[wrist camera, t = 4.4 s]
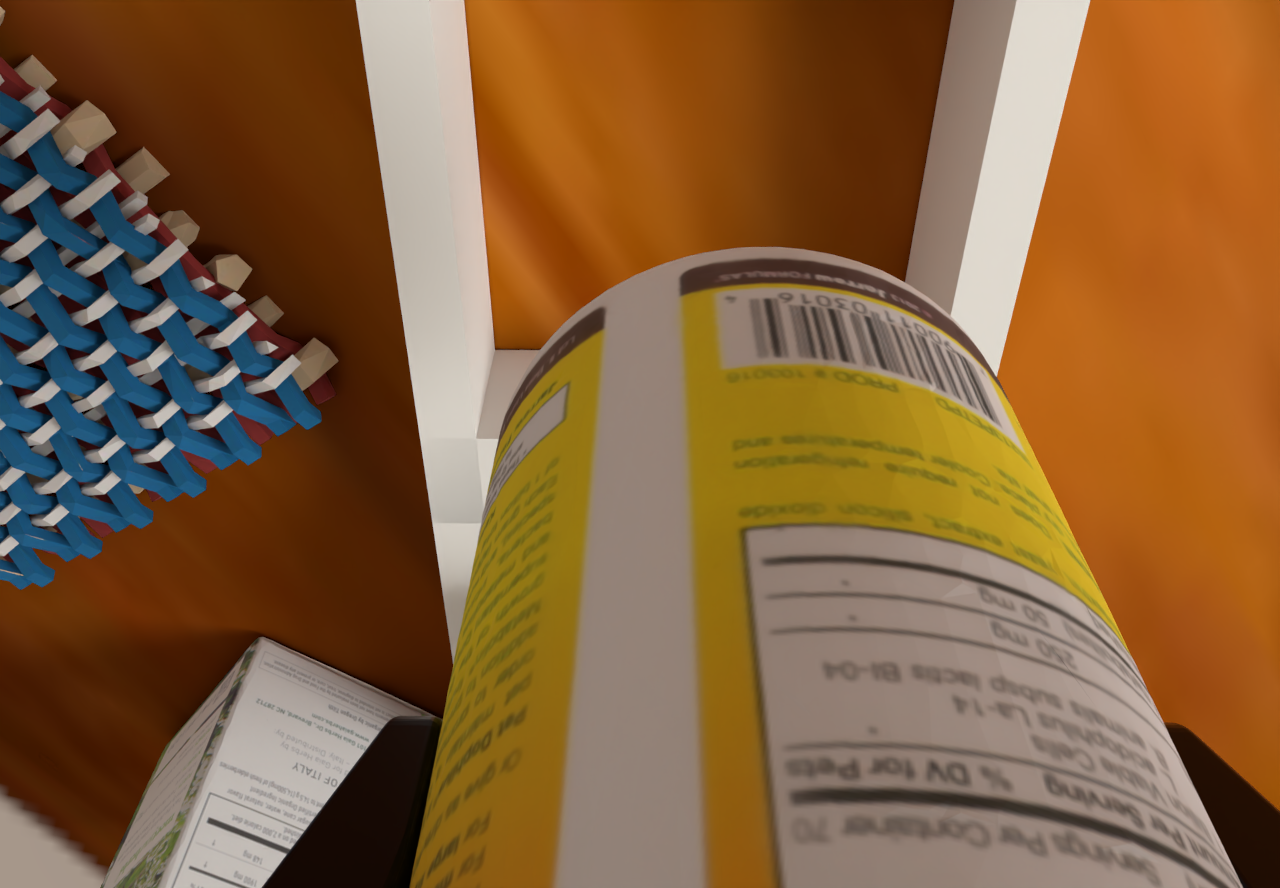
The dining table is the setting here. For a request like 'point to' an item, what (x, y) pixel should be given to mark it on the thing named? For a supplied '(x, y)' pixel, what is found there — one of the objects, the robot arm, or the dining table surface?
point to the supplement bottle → (789, 616)
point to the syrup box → (250, 772)
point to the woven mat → (118, 340)
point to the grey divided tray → (487, 378)
